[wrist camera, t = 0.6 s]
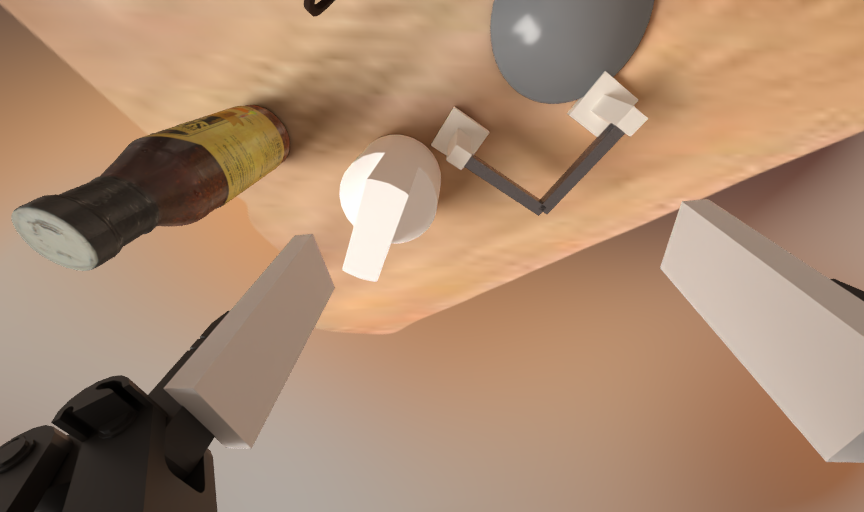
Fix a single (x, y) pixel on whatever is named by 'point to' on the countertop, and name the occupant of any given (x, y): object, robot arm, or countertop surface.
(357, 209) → the base with upright slab
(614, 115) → the wire posts
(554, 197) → the bent wire
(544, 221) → the countertop surface
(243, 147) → the sauce bottle
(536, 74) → the coaster
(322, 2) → the coffee mug
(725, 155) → the countertop surface
